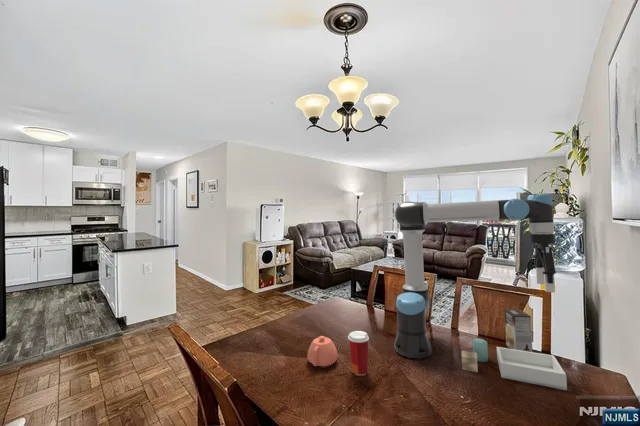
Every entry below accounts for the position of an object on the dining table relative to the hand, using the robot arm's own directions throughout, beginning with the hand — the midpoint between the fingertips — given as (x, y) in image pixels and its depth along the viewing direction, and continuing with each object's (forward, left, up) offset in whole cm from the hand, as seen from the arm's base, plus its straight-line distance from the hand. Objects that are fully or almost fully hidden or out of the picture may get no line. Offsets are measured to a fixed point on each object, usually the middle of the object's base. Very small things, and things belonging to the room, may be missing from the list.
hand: (545, 287), depth 106 cm
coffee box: (-9, +5, -28) cm, 30 cm away
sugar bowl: (-80, -38, -28) cm, 93 cm away
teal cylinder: (-24, -9, -28) cm, 38 cm away
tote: (-9, -14, -28) cm, 33 cm away
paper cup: (-64, -38, -28) cm, 80 cm away
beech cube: (-28, -18, -28) cm, 43 cm away
